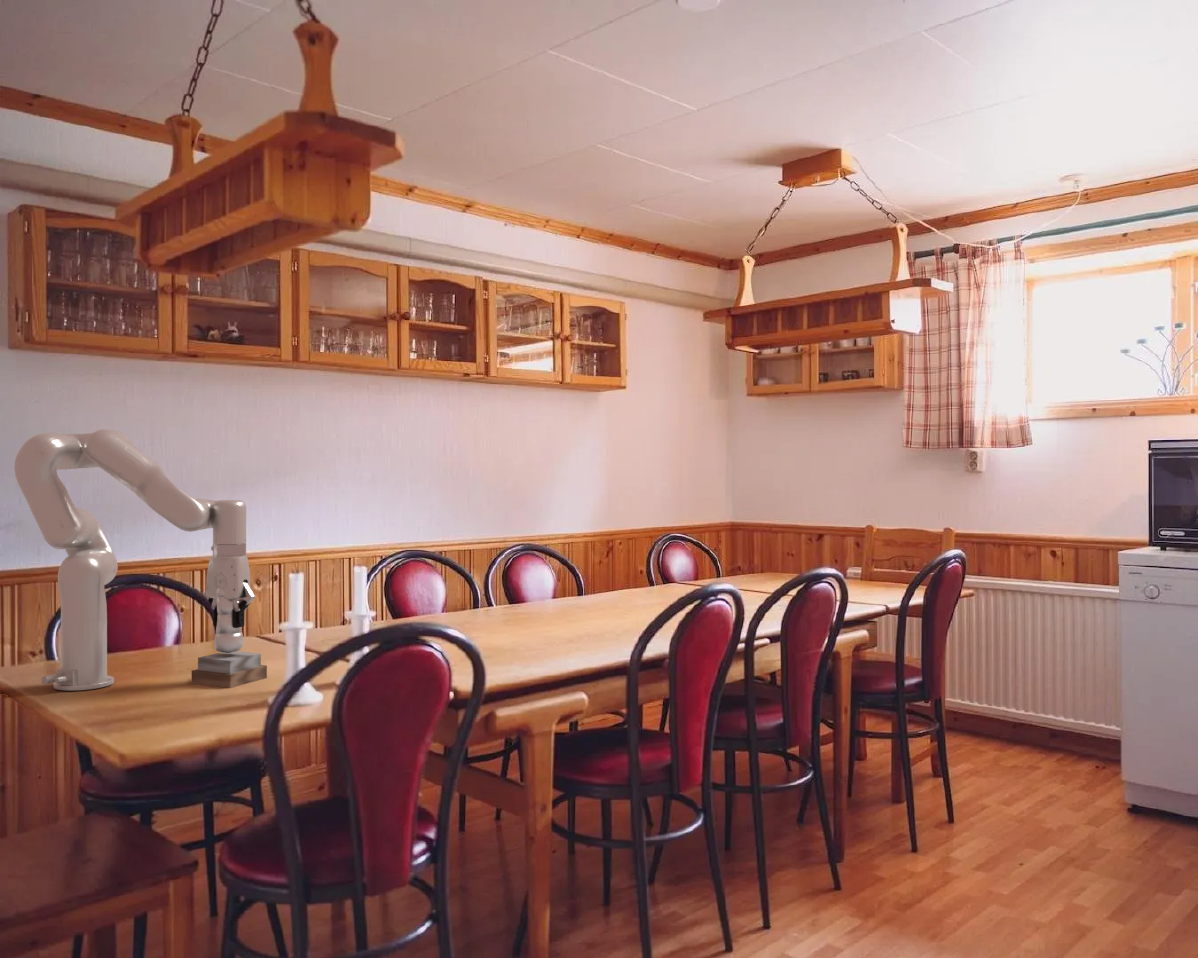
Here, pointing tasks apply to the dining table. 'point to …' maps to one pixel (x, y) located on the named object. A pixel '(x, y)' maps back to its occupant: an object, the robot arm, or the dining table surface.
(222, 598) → the plastic bottle
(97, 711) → the dining table surface
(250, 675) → the plinth
